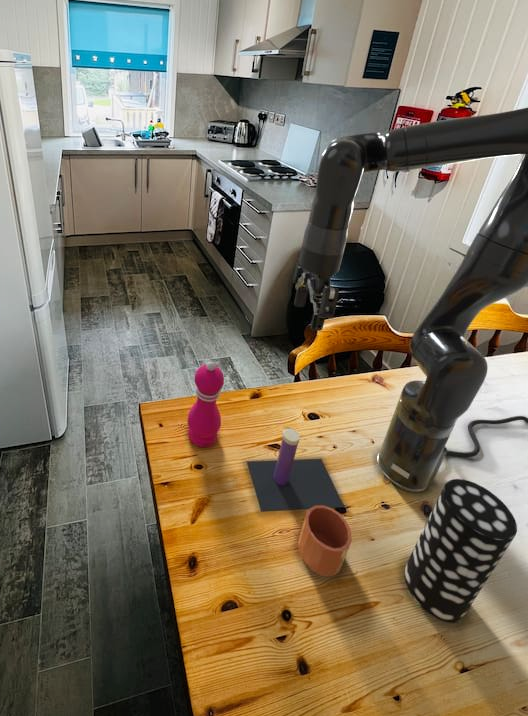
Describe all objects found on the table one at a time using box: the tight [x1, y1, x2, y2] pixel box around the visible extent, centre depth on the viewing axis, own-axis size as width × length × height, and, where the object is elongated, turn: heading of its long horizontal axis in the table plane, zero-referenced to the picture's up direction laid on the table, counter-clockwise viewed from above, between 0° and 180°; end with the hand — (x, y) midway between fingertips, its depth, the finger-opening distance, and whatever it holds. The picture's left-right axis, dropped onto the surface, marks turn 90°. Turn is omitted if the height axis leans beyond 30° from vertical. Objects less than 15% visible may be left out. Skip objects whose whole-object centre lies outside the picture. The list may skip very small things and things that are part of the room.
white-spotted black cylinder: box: [403, 478, 518, 624], centre depth 58 cm, size 8×8×20 cm
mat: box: [246, 458, 345, 512], centre depth 77 cm, size 16×10×1 cm, turn 95°
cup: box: [297, 505, 353, 577], centre depth 65 cm, size 7×7×7 cm
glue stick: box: [274, 427, 301, 486], centre depth 75 cm, size 3×3×12 cm
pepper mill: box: [186, 361, 225, 448], centre depth 83 cm, size 7×7×20 cm
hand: (306, 317), depth 81 cm, fingers open, 8 cm apart
